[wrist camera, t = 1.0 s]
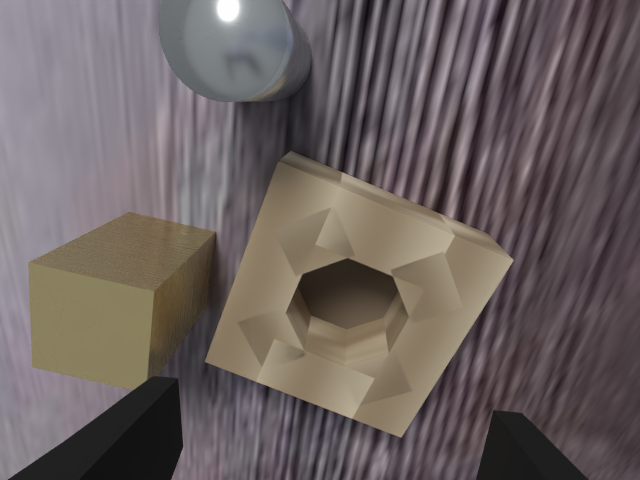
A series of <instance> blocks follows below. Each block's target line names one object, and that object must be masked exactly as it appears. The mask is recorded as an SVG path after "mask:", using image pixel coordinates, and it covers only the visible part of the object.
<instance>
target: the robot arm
mask: <svg viewBox="0 0 640 480" xmlns="http://www.w3.org/2000/svg"><path fill="white" fill-rule="evenodd" d="M182 448H183V438H182V425H181V411H180V398H179V384H178V379H177V378H167V377H157V376H152V377H151V378H149V379H148V380H146V381H145V382H144V383H142V384H141V385H140V386H138V387H137V388H136V389H134V390H133V391H132V392H130V393H129V394H128V395H126V396H125V397H124V398H122V399H121V400H120V401H118V402H117V403H116V404H114V405H113V406H112V407H110V408H109V409H108V410H106V411H105V412H104V413H102V414H101V415H100V416H98V417H97V418H95V419H94V420H93V421H91V422H90V423H89V424H87V425H86V426H85V427H83V428H82V429H80V430H79V431H78V432H76V433H75V434H74V435H72V436H71V437H70V438H68V439H67V440H65V441H64V442H63V443H61V444H60V445H58V446H57V447H55V448H54V449H52V450H51V451H49V452H48V453H46V454H45V455H43V456H42V457H40V458H39V459H38V460H36V461H35V462H33V463H32V464H30V465H29V466H27V467H26V468H24V469H23V470H21V471H20V472H18V473H17V474H15V475H14V476H13V477H11V478H10V479H8V480H171V478H172V476H173V473H174V470H175V468H176V465H177V462H178V459H179V457H180V454H181V451H182ZM476 479H477V480H588V479H587V478H586V477H585V476H584V475H583V474H582V473H581V472H580V471H579V470H578V469H577V468H576V467H575V466H574V465H573V464H572V463H571V462H570V461H569V460H568V459H567V458H566V457H565V456H564V455H563V454H562V453H561V452H560V451H559V450H558V449H557V448H556V447H555V446H554V445H553V444H552V443H551V442H550V441H549V440H548V439H547V438H546V436H545V435H544V434H543V433H542V432H541V431H540V430H539V429H538V428H537V427H536V426H535V425H534V424H533V423H532V422H530V421H529V420H528V419H527V418H526V417H525V416H524V415H523V414H522V413H516V412H506V411H496V410H494V411H493V415H492V419H491V423H490V427H489V431H488V435H487V439H486V443H485V447H484V450H483V454H482V458H481V462H480V466H479V470H478V474H477V478H476Z"/></svg>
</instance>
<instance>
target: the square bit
mask: <svg viewBox="0 0 640 480" xmlns="http://www.w3.org/2000/svg"><path fill="white" fill-rule="evenodd" d="M215 235H216V232H214V231H210V230H206V229H201V228H197V227H193V226H188V225H184V224H180V223H175V222H171V221H167V220H162V219H158V218H153V217H149V216H145V215H140V214H136V213H132V212H128V213H126V214H124V215H122V216H120V217H118V218H116V219H114V220H112V221H110V222H108V223H106V224H104V225H102V226H100V227H98V228H96V229H94V230H92V231H90V232H88V233H86V234H84V235H82V236H80V237H78V238H76V239H74V240H72V241H70V242H68V243H66V244H64V245H62V246H60V247H58V248H56V249H54V250H52V251H51V252H49V253H47V254H45V255H43V256H41V257H39V258H37V259H35V260H33V261H31V262H29V263H28V265H29V291H30V316H31V342H32V367H34V368H38V369H42V370H47V371H51V372H56V373H60V374H64V375H69V376H73V377H77V378H82V379H86V380H90V381H95V382H99V383H104V384H108V385H112V386H117V387H121V388H125V389H130V390H134V389H136V388H137V387H138V386H140V385H141V384H142V383H144V382H145V381H146V380H148V379H149V378H151V377H152V376H157V377H158V375H159V374H160V372H161V371H162V370H163V368H164V367H165V365H166V364H167V363H168V361H169V360H170V358H171V357H172V355H173V354H174V353H175V351H176V350H177V348H178V347H179V346H180V344H181V343H182V341H183V340H184V338H185V337H186V336H187V334H188V333H189V331H190V330H191V328H192V327H193V326H194V324H195V323H196V321H197V320H198V319H199V317H200V316H201V314H202V313H203V311H204V310H205V309H206V303H207V295H208V288H209V280H210V272H211V265H212V257H213V250H214V242H215Z"/></svg>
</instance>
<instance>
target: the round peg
mask: <svg viewBox="0 0 640 480" xmlns="http://www.w3.org/2000/svg"><path fill="white" fill-rule="evenodd" d="M159 35H160V40H161V45H162V48H163V52H164V54H165V57H166V59H167V61H168V63H169V65H170V66H171V68H172V70H173V71H174V73H175V74H176V75H177V77H178V78H179V79H180V80H181V81H182V82H183V83H184V84H185V85H186V86H187V87H189V88H190V89H191V90H193V91H194V92H196V93H197V94H199V95H201V96H203V97H206V98H209V99H211V100H216V101H223V102H248V101H279V100H283V99H285V98H288V97H290V96H292V95H293V94H294V93H296V92H297V91H298V90H299V89H300V88H301V87H302V85H303V84H304V82H305V81H306V79H307V77H308V74H309V71H310V68H311V59H312V55H311V47H310V43H309V40H308V37H307V35H306V33H305V32H304V30H303V28H302V27H301V26H300V24H299V23H298V21H297V20H296V19H295V17H294V16H293V14H292V13H291V12H290V10H289V9H288V7H287V6H286V5H285V3H284V2H283V0H162V3H161V7H160V13H159Z"/></svg>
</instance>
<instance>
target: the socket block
mask: <svg viewBox="0 0 640 480" xmlns="http://www.w3.org/2000/svg"><path fill="white" fill-rule="evenodd" d="M513 261H514V260H513V259H512V258H511V257H510V256H509V255H508V254H507V253H506V252H505V251H504V250H503V249H502V248H501V247H500V246H499V245H498V244H497V243H496V242H495V241H494V240H493V239H492V238H491V237H490V236H489V235H488V234H487V233H484V232H482V231H480V230H477V229H475V228H472V227H470V226H468V225H465V224H463V223H461V222H458V221H456V220H454V219H451V218H449V217H446V216H444V215H442V214H439V213H437V212H435V211H432V210H430V209H428V208H425V207H423V206H420V205H418V204H416V203H413V202H411V201H409V200H406V199H404V198H402V197H399V196H397V195H394V194H392V193H390V192H387V191H385V190H383V189H380V188H378V187H376V186H373V185H371V184H368V183H366V182H364V181H361V180H359V179H357V178H354V177H352V176H350V175H347V174H345V173H342V172H340V171H338V170H335V169H333V168H331V167H328V166H326V165H324V164H321V163H319V162H316V161H314V160H312V159H309V158H307V157H305V156H302V155H300V154H298V153H295V152H293V151H290V152H289V153H288V154H286V155H285V156H284V157H283V158H281V159H280V160H279V161H278V163H277V166H276V168H275V171H274V174H273V177H272V179H271V182H270V185H269V187H268V190H267V193H266V196H265V198H264V201H263V204H262V207H261V209H260V212H259V215H258V217H257V220H256V223H255V226H254V228H253V231H252V234H251V237H250V239H249V242H248V245H247V247H246V250H245V253H244V256H243V258H242V261H241V264H240V267H239V269H238V272H237V275H236V277H235V280H234V283H233V286H232V288H231V291H230V294H229V296H228V299H227V302H226V305H225V307H224V310H223V313H222V316H221V318H220V321H219V324H218V326H217V329H216V332H215V335H214V337H213V340H212V343H211V346H210V348H209V351H208V354H207V356H206V359H205V362H206V363H209V364H212V365H214V366H217V367H219V368H222V369H225V370H227V371H230V372H232V373H235V374H238V375H240V376H243V377H245V378H248V379H250V380H253V381H256V382H258V383H261V384H263V385H266V386H269V387H271V388H274V389H276V390H279V391H282V392H284V393H287V394H289V395H292V396H294V397H297V398H300V399H302V400H305V401H307V402H310V403H313V404H315V405H318V406H320V407H323V408H326V409H328V410H331V411H333V412H336V413H339V414H341V415H344V416H346V417H349V418H351V419H354V420H357V421H359V422H362V423H364V424H367V425H370V426H372V427H375V428H377V429H380V430H383V431H385V432H388V433H390V434H393V435H395V436H398V437H402V436H403V434H404V433H405V431H406V429H407V428H408V426H409V425H410V423H411V422H412V420H413V418H414V417H415V415H416V414H417V412H418V410H419V409H420V407H421V406H422V404H423V403H424V401H425V399H426V398H427V396H428V395H429V393H430V392H431V390H432V388H433V387H434V385H435V384H436V382H437V381H438V379H439V377H440V376H441V374H442V373H443V371H444V369H445V368H446V366H447V365H448V363H449V362H450V360H451V358H452V357H453V355H454V354H455V352H456V351H457V349H458V347H459V346H460V344H461V343H462V341H463V339H464V338H465V336H466V335H467V333H468V332H469V330H470V328H471V327H472V325H473V324H474V322H475V321H476V319H477V317H478V316H479V314H480V313H481V311H482V309H483V308H484V306H485V305H486V303H487V302H488V300H489V298H490V297H491V295H492V294H493V292H494V291H495V289H496V287H497V286H498V284H499V283H500V281H501V279H502V278H503V276H504V275H505V273H506V272H507V270H508V268H509V267H510V265H511V264H512V262H513Z"/></svg>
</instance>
